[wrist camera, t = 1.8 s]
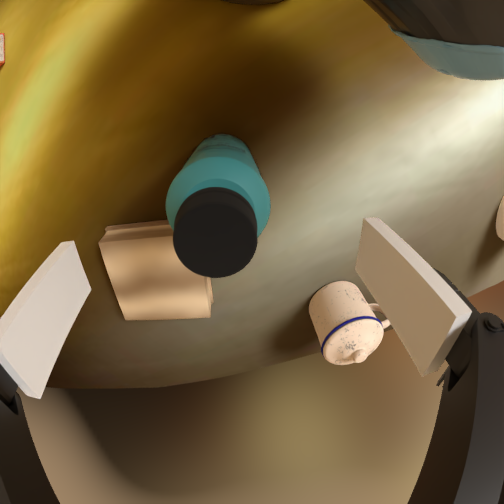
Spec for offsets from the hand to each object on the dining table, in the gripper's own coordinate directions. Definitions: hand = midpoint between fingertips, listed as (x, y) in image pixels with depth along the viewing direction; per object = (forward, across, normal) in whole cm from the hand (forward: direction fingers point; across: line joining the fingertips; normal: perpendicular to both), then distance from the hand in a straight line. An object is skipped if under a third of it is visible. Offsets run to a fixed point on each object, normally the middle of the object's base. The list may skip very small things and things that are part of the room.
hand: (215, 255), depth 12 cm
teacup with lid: (+21, +17, -22) cm, 35 cm away
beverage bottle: (+21, 0, 0) cm, 21 cm away
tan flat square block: (+21, -9, -13) cm, 26 cm away
